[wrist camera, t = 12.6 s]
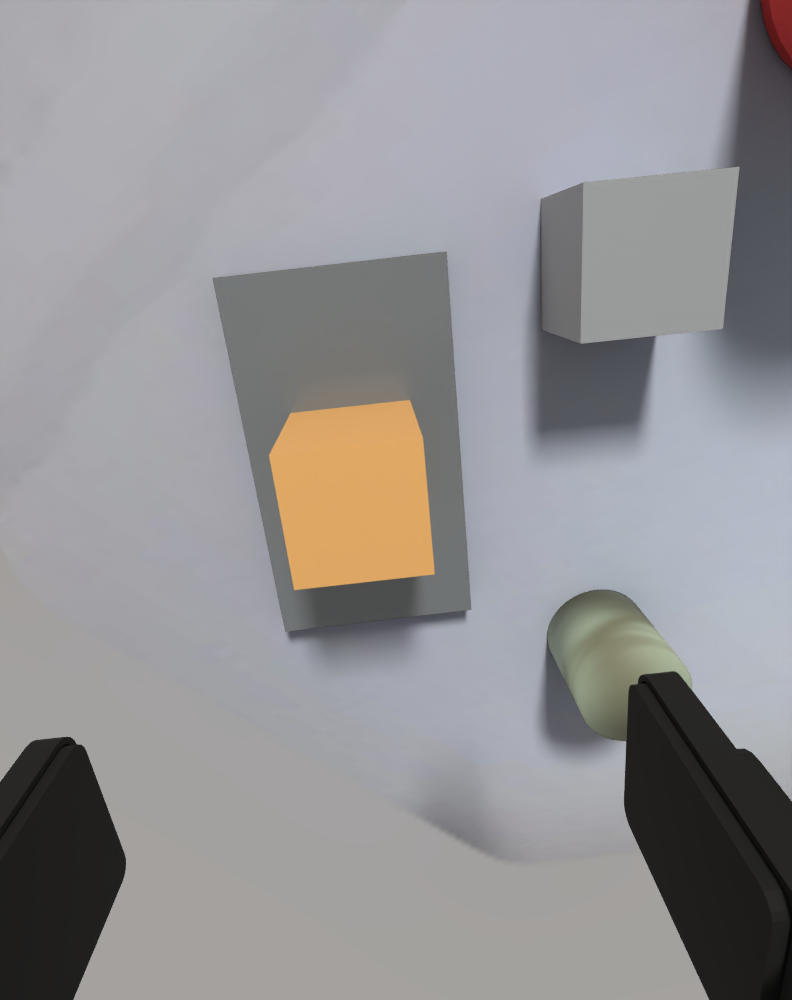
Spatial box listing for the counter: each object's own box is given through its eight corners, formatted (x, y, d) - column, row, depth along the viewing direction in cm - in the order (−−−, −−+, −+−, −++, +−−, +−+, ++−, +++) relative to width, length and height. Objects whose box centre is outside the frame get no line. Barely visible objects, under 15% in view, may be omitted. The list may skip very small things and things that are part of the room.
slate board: (442, 252, 24) (446, 251, 23) (467, 596, 30) (471, 609, 29) (219, 277, 24) (212, 278, 23) (288, 618, 30) (285, 631, 29)
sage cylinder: (638, 579, 30) (690, 637, 25) (645, 659, 32) (694, 727, 27) (541, 602, 30) (574, 663, 25) (553, 680, 32) (586, 751, 27)
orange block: (409, 399, 25) (423, 438, 19) (420, 510, 27) (435, 574, 21) (290, 412, 25) (269, 455, 19) (308, 522, 27) (294, 590, 21)
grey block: (665, 186, 24) (739, 166, 19) (657, 317, 25) (722, 328, 21) (540, 199, 24) (583, 182, 19) (541, 329, 25) (580, 343, 21)
